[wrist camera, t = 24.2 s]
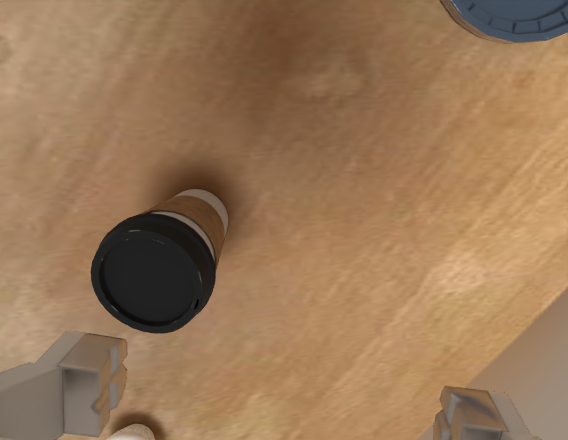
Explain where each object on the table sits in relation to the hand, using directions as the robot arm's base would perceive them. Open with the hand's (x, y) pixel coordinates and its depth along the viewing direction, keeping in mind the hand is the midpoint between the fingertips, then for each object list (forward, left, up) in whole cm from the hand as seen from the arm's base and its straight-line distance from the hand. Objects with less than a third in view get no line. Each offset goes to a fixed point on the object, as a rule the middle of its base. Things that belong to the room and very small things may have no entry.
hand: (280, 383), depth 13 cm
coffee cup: (-2, -12, -34) cm, 36 cm away
